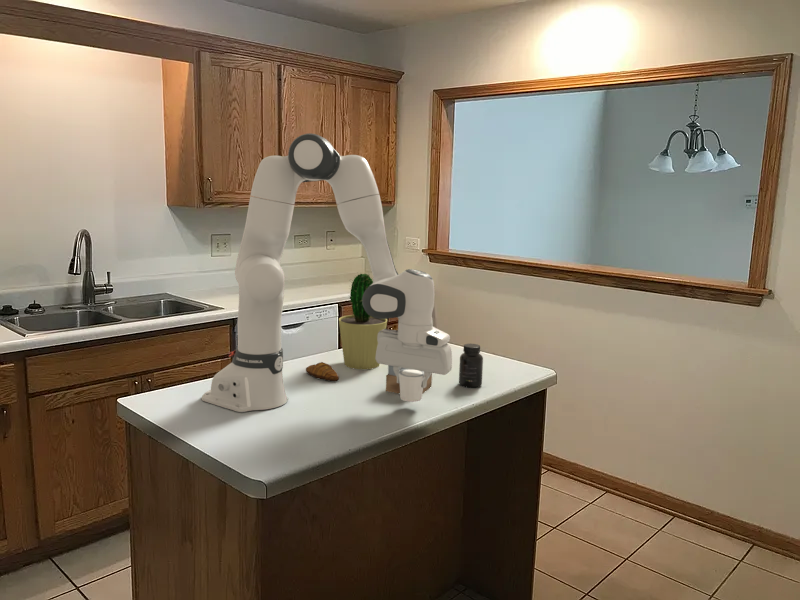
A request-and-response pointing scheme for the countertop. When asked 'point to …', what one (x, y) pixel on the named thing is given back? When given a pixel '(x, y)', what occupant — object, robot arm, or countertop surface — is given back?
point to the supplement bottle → (471, 366)
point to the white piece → (411, 384)
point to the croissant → (322, 372)
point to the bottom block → (395, 387)
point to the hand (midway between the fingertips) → (411, 385)
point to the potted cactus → (360, 329)
